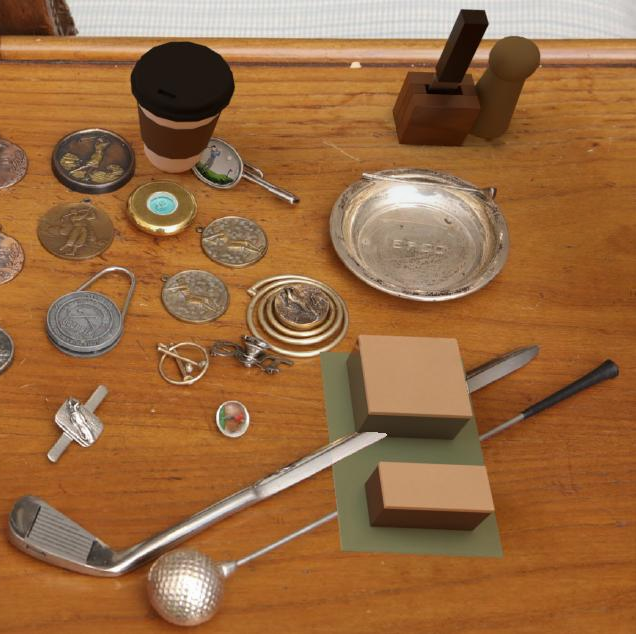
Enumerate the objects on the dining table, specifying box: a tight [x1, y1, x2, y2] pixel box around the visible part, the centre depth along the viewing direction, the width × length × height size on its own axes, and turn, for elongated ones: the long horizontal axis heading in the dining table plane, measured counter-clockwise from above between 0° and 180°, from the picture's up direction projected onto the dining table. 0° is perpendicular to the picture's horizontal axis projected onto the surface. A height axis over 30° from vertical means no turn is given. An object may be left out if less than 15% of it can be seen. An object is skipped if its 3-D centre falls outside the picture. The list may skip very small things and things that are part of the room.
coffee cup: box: [129, 40, 236, 174], centre depth 100 cm, size 11×11×12 cm
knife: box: [426, 8, 490, 95], centre depth 100 cm, size 3×2×16 cm
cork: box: [468, 35, 542, 139], centre depth 103 cm, size 6×6×11 cm
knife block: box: [392, 70, 481, 147], centre depth 105 cm, size 7×6×6 cm
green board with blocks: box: [319, 334, 505, 559], centre depth 83 cm, size 14×20×6 cm
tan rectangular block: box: [365, 462, 496, 531], centre depth 79 cm, size 9×4×5 cm, turn 88°
